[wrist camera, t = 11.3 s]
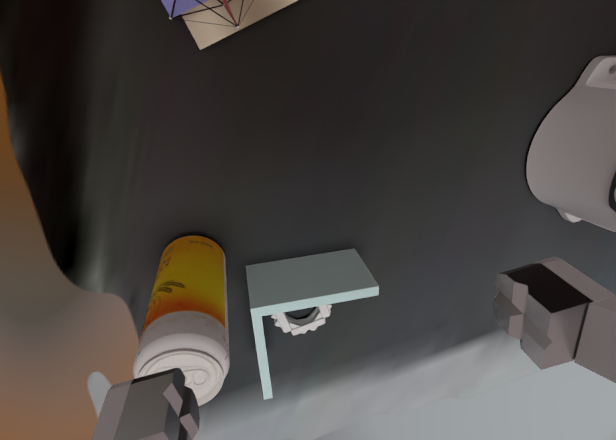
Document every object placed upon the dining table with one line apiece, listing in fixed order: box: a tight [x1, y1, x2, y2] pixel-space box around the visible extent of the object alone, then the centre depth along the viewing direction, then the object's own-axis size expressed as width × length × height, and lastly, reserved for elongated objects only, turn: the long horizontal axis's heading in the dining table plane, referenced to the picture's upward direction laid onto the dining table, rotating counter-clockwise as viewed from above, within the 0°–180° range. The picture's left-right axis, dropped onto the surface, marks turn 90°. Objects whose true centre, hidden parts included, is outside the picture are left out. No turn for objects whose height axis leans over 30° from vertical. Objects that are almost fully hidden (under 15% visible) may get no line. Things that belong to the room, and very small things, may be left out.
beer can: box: [133, 236, 229, 406], centre depth 30 cm, size 6×6×15 cm
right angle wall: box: [246, 248, 379, 400], centre depth 39 cm, size 12×12×8 cm
